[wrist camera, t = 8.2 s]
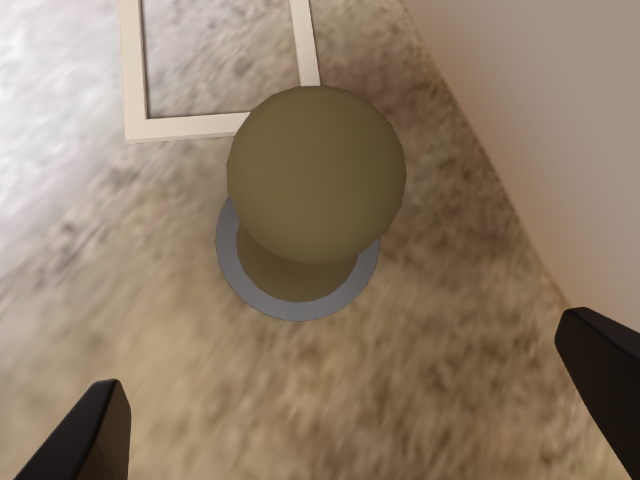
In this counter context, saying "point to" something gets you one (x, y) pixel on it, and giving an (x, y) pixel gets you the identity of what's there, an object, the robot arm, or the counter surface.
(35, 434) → the counter surface
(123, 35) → the white square frame
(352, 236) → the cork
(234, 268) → the slate coaster
